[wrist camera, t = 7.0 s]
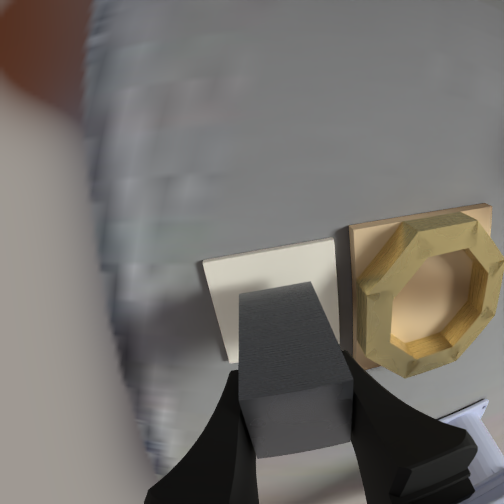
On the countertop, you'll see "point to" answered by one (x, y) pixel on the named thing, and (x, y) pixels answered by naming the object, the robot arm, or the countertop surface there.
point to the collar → (402, 270)
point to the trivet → (271, 281)
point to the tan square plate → (416, 279)
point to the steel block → (291, 373)
